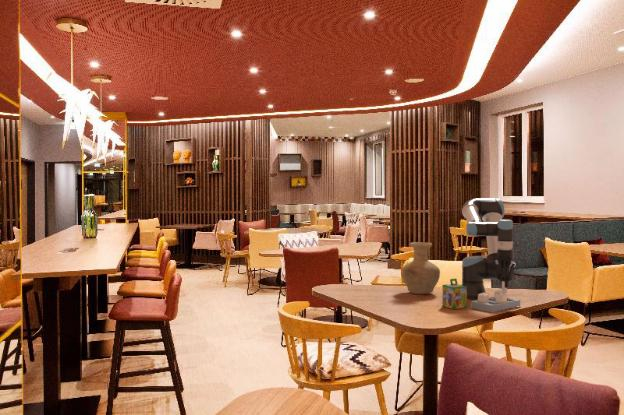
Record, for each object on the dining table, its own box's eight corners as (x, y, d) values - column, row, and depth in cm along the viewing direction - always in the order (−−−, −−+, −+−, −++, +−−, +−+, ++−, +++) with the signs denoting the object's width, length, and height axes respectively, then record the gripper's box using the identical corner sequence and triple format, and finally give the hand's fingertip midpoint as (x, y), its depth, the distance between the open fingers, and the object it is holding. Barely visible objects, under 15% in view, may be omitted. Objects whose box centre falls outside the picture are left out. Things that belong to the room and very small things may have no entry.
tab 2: (500, 302, 279) (500, 291, 279) (494, 301, 283) (494, 289, 282) (504, 301, 281) (504, 290, 281) (498, 300, 285) (498, 289, 285)
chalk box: (454, 309, 270) (454, 281, 269) (441, 306, 278) (441, 278, 277) (467, 308, 274) (467, 279, 274) (454, 304, 282) (455, 277, 282)
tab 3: (502, 306, 270) (502, 294, 270) (495, 304, 274) (495, 293, 274) (506, 305, 273) (506, 293, 272) (499, 304, 276) (500, 292, 276)
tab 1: (484, 306, 271) (484, 293, 271) (477, 304, 274) (477, 292, 274) (488, 305, 273) (488, 293, 273) (482, 303, 276) (482, 292, 276)
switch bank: (492, 312, 263) (492, 305, 263) (470, 308, 274) (470, 300, 274) (520, 306, 278) (520, 299, 278) (498, 302, 288) (498, 295, 288)
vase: (397, 295, 309) (398, 244, 308) (405, 289, 329) (405, 241, 329) (437, 298, 301) (437, 245, 300) (442, 291, 322) (442, 242, 321)
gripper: (489, 248, 282) (489, 292, 283) (511, 250, 271) (511, 296, 272) (498, 247, 286) (497, 290, 287) (520, 249, 276) (519, 294, 277)
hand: (504, 293), depth 280 cm, fingers closed
